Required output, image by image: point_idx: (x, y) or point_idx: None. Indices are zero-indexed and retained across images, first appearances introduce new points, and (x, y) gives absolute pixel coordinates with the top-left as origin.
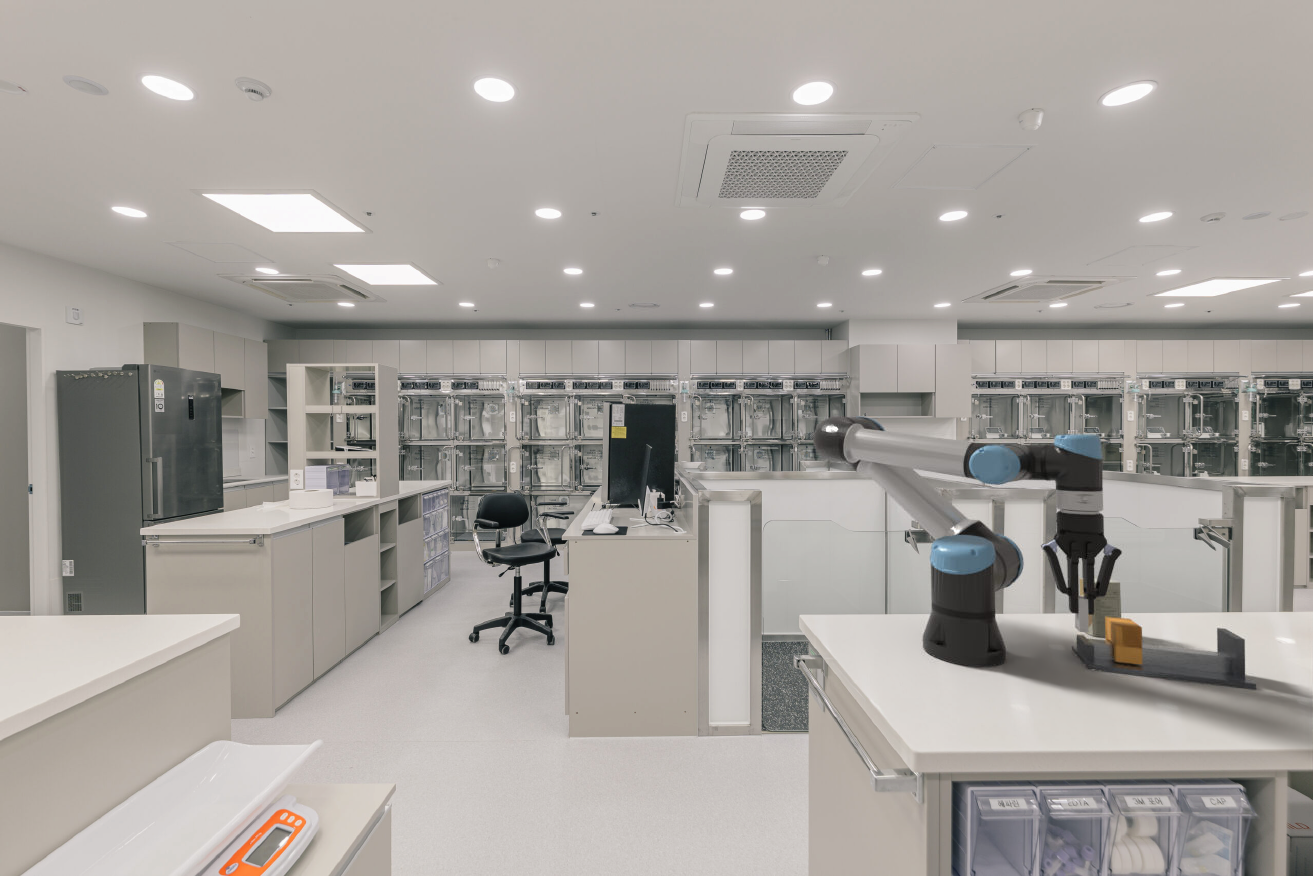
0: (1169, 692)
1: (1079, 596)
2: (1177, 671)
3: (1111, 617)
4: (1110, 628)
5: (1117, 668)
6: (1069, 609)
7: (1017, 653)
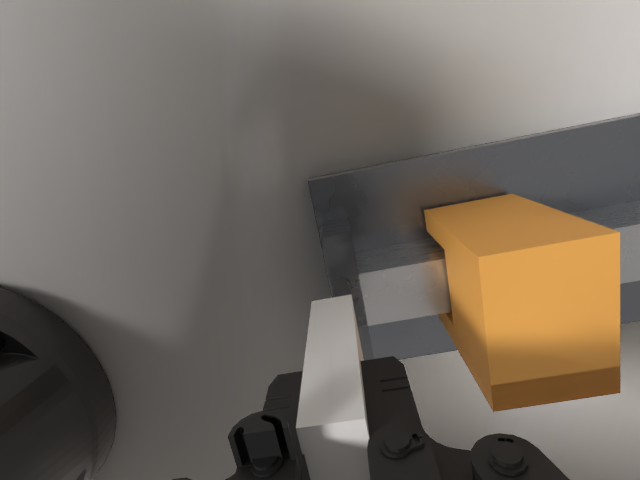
0: (531, 428)
1: (331, 458)
2: (620, 294)
3: (512, 259)
4: (470, 320)
5: (430, 351)
6: (272, 385)
7: (136, 317)
